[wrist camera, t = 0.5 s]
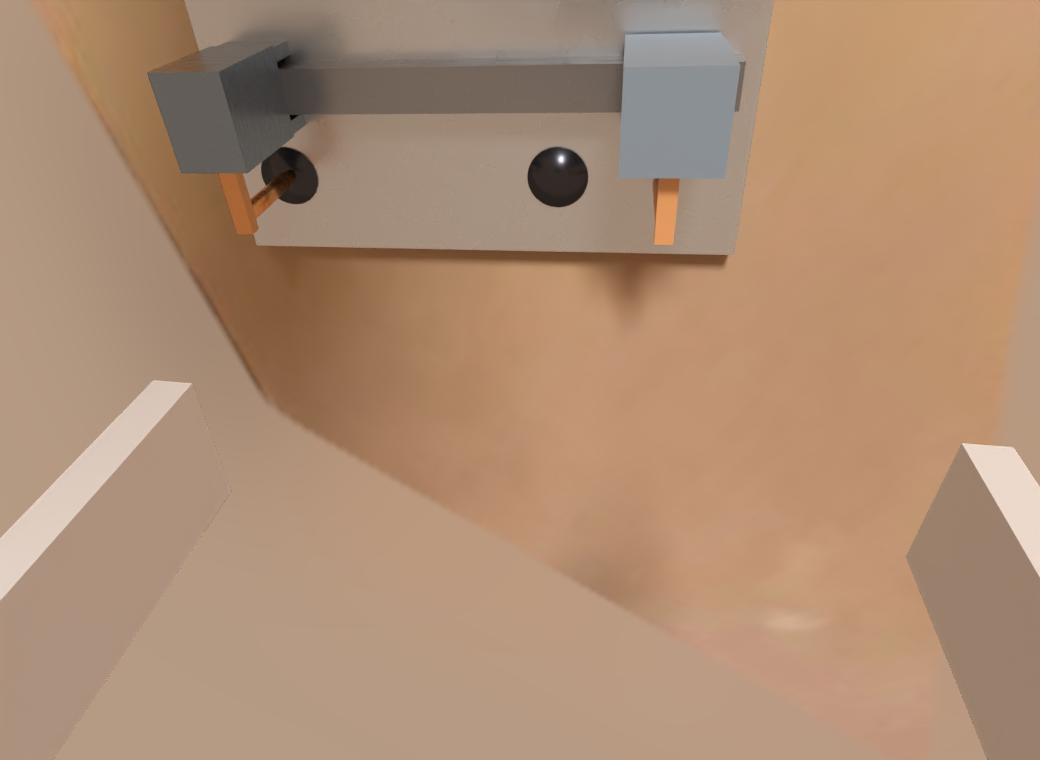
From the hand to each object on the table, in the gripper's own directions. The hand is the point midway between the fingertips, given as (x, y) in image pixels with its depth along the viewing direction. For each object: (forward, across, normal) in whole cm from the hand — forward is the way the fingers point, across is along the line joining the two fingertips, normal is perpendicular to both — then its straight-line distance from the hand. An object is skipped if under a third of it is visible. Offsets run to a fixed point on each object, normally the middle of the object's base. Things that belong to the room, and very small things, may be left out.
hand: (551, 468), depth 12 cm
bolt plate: (+25, -6, 0) cm, 26 cm away
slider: (+24, +3, 0) cm, 24 cm away
